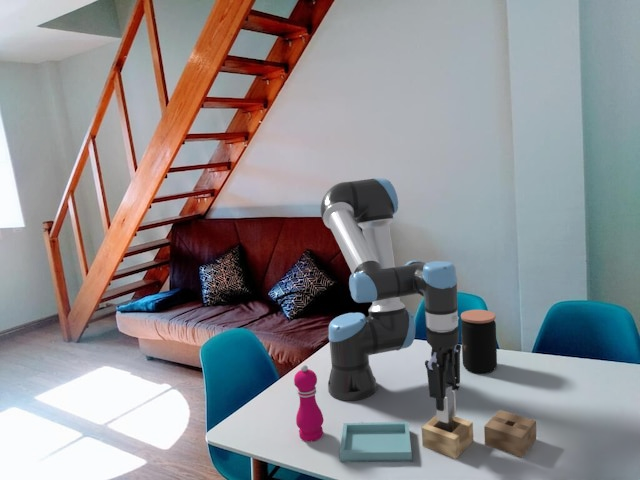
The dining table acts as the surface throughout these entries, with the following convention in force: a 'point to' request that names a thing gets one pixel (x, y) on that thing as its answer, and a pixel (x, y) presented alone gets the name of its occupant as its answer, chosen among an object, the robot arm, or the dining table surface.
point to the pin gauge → (449, 410)
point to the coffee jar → (479, 341)
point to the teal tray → (375, 442)
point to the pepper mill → (308, 406)
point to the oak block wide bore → (448, 437)
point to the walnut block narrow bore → (510, 433)
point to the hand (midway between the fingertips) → (446, 417)
